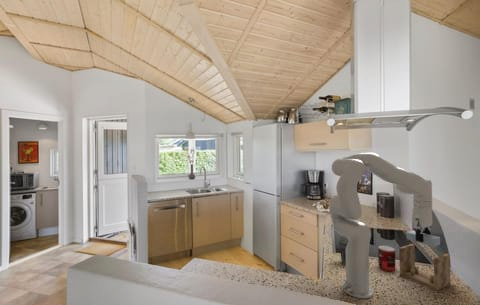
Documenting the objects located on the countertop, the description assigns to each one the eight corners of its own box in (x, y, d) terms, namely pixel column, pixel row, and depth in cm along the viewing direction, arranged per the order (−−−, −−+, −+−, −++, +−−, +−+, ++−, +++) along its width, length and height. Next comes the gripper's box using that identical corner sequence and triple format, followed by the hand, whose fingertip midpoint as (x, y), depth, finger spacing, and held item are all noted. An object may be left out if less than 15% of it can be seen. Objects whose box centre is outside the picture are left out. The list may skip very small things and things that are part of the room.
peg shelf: (437, 290, 110) (437, 259, 111) (399, 275, 125) (399, 247, 125) (450, 284, 116) (449, 254, 116) (412, 269, 131) (412, 243, 131)
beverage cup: (338, 259, 144) (338, 225, 144) (351, 261, 142) (351, 226, 142) (339, 265, 137) (339, 229, 137) (353, 266, 135) (353, 230, 135)
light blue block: (406, 239, 125) (406, 232, 125) (413, 237, 128) (412, 230, 128) (433, 246, 114) (433, 239, 114) (440, 244, 117) (440, 237, 117)
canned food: (379, 263, 138) (379, 244, 138) (396, 267, 133) (396, 247, 133) (377, 268, 132) (376, 248, 132) (394, 273, 127) (394, 251, 127)
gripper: (423, 201, 128) (423, 235, 128) (404, 204, 120) (405, 240, 120) (440, 203, 122) (440, 239, 121) (421, 207, 114) (422, 245, 113)
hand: (423, 239), depth 121 cm, fingers closed on light blue block, 6 cm apart
